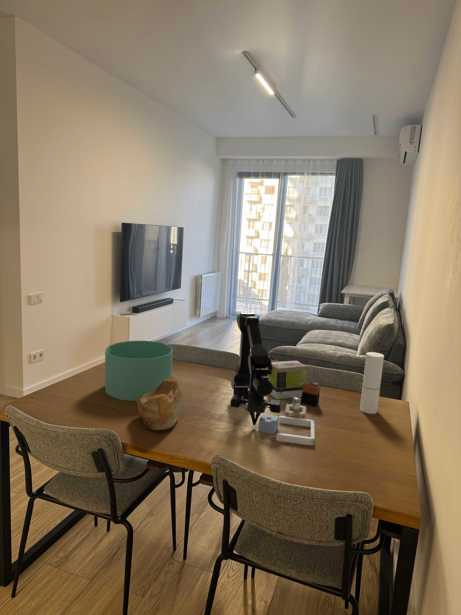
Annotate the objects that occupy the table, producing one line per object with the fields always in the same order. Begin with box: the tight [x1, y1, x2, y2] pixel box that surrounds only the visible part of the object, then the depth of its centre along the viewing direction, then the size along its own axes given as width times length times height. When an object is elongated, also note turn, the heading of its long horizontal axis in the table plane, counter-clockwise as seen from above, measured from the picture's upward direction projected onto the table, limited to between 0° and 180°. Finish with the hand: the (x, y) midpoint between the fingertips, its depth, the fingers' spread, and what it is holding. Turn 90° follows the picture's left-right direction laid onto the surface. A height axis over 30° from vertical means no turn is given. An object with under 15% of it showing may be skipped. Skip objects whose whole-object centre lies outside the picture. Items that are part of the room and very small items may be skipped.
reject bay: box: [276, 415, 316, 447], centre depth 158 cm, size 13×16×2 cm
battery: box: [300, 380, 321, 408], centre depth 185 cm, size 4×7×10 cm, turn 61°
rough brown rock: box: [136, 375, 183, 431], centre depth 161 cm, size 23×17×15 cm
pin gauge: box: [291, 397, 302, 412], centre depth 170 cm, size 3×3×8 cm
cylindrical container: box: [359, 351, 385, 415], centre depth 181 cm, size 7×7×25 cm
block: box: [257, 413, 280, 436], centre depth 159 cm, size 6×6×4 cm
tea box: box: [268, 360, 308, 400], centre depth 194 cm, size 15×10×15 cm, turn 108°
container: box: [104, 340, 174, 402], centre depth 191 cm, size 30×30×19 cm
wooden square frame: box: [284, 403, 307, 419], centre depth 170 cm, size 8×8×4 cm
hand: (254, 424), depth 160 cm, fingers closed
